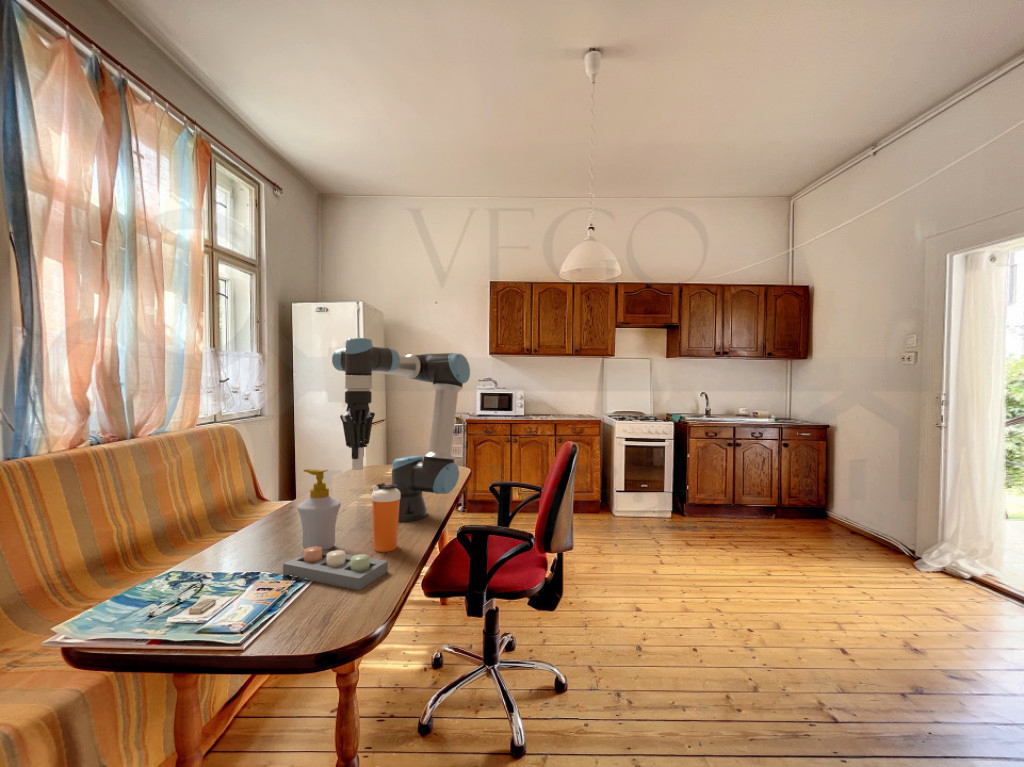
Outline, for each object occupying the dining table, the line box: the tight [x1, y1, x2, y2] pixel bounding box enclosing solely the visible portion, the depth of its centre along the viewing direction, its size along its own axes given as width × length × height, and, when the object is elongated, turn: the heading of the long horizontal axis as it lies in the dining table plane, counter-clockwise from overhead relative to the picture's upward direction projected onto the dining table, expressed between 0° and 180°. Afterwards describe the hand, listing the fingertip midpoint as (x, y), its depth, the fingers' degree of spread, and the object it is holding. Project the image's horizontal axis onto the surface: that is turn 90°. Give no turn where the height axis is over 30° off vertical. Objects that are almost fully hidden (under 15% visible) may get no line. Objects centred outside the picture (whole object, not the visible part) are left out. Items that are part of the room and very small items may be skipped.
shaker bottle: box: [370, 482, 400, 553], centre depth 144 cm, size 9×9×20 cm
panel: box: [282, 550, 389, 591], centre depth 125 cm, size 12×25×3 cm, turn 70°
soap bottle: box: [296, 468, 342, 551], centre depth 143 cm, size 13×13×25 cm
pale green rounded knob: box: [351, 553, 371, 573], centre depth 122 cm, size 5×5×4 cm
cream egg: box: [327, 549, 346, 568], centre depth 125 cm, size 5×5×4 cm
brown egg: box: [303, 546, 322, 564], centre depth 127 cm, size 5×5×4 cm
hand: (357, 469), depth 136 cm, fingers closed
